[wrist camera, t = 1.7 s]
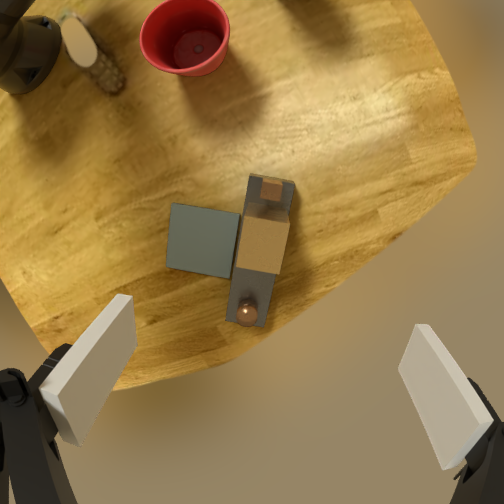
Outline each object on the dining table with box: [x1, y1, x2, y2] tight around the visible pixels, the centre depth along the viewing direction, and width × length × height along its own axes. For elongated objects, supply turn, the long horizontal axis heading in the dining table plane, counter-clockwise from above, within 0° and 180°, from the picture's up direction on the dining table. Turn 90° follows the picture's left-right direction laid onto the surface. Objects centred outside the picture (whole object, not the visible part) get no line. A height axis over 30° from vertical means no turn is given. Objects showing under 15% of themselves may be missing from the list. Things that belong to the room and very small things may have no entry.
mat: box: [166, 203, 240, 279], centre depth 46 cm, size 10×10×1 cm
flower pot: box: [139, 0, 230, 76], centre depth 33 cm, size 11×11×10 cm
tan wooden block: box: [236, 202, 290, 274], centre depth 39 cm, size 6×5×8 cm
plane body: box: [225, 173, 295, 327], centre depth 43 cm, size 22×6×7 cm, turn 170°
